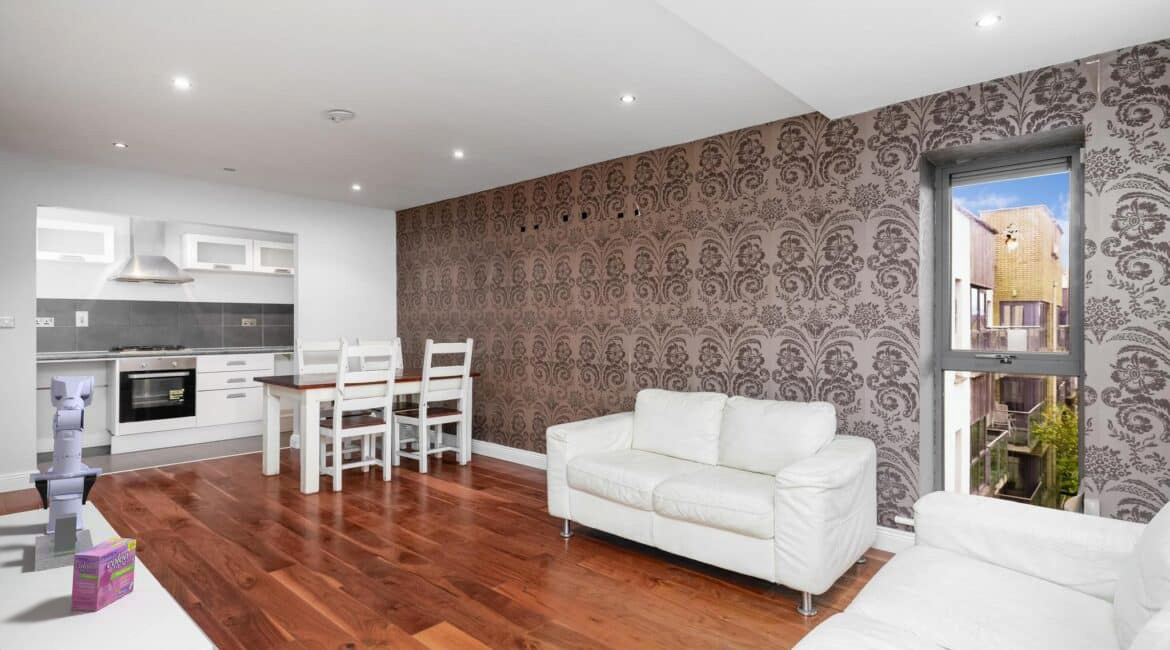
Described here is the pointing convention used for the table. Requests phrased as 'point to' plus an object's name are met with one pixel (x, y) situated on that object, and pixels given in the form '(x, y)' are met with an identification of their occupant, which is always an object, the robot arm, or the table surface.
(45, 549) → the plate
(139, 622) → the table surface
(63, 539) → the grey rectangular block
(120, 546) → the box
